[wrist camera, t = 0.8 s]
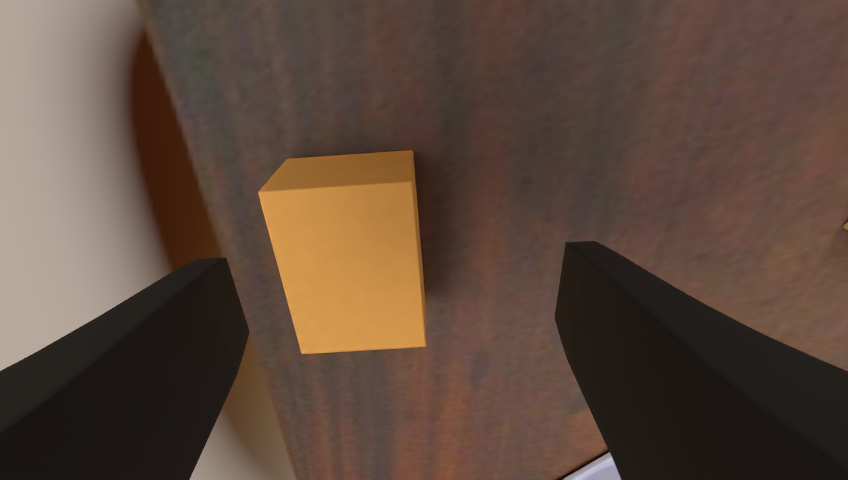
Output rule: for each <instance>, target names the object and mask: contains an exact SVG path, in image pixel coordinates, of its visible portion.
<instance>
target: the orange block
mask: <svg viewBox="0 0 848 480" xmlns="http://www.w3.org/2000/svg"><path fill="white" fill-rule="evenodd" d="M258 194H259V198H260V202H261V205H262V209H263V213H264V216H265V220H266V224H267V228H268V231H269V235H270V239H271V242H272V246H273V250H274V253H275V257H276V261H277V264H278V268H279V272H280V275H281V279H282V283H283V286H284V290H285V294H286V298H287V301H288V305H289V309H290V312H291V316H292V320H293V323H294V327H295V331H296V334H297V338H298V342H299V345H300V349H301V353H302V354H311V353H328V352H344V351H361V350H377V349H394V348H411V347H425V346H426V325H425V292H424V279H423V267H422V255H421V242H420V230H419V218H418V206H417V193H416V181H415V169H414V157H413V150H405V151H390V152H376V153H362V154H347V155H333V156H319V157H305V158H290V159H286V160H285V161H284V163H283V164H282V165H281V166H280V167H279V168H278V170H277V171H276V172H275V173H274V174H273V175H272V177H271V178H270V179H269V180H268V181H267V182H266V184H265V185H264V186H263V187H262V188H261V189H260V191H259V192H258Z"/></svg>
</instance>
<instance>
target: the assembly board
mask: <svg viewBox="0 0 848 480" xmlns="http://www.w3.org/2000/svg"><path fill="white" fill-rule="evenodd" d="M843 228H844V229H846V230H848V221H847V222H846V223H845V224H844V225H843Z"/></svg>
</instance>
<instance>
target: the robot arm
mask: <svg viewBox="0 0 848 480" xmlns="http://www.w3.org/2000/svg"><path fill="white" fill-rule="evenodd" d="M555 321H556V324H557V328H558V331H559V334H560V338H561V341H562V344H563V348H564V351H565V354H566V357H567V360H568V362H569V364H570V367H571V369H572V371H573V373H574V375H575V378H576V380H577V382H578V384H579V387H580V389H581V391H582V393H583V395H584V398H585V400H586V402H587V404H588V406H589V408H590V411H591V413H592V415H593V417H594V419H595V421H596V424H597V426H598V428H599V430H600V432H601V434H602V437H603V439H604V441H605V443H606V445H607V447H608V450H609V453H607V454H605V455H603V456H602V457H600V458H598V459H597V460H595V461H593V462H591V463H590V464H588V465H586V466H585V467H583V468H581V469H579V470H578V471H576V472H574V473H572V474H571V475H569V476H567V477H566V478H564V479H562V480H848V371H845V370H843V369H841V368H838V367H836V366H833V365H831V364H829V363H826V362H824V361H821V360H819V359H817V358H815V357H812V356H810V355H808V354H806V353H803V352H801V351H799V350H797V349H795V348H792V347H790V346H788V345H786V344H784V343H781V342H779V341H777V340H775V339H773V338H770V337H768V336H766V335H764V334H762V333H760V332H758V331H756V330H754V329H752V328H750V327H748V326H746V325H744V324H742V323H740V322H738V321H736V320H734V319H732V318H730V317H728V316H726V315H724V314H723V313H721V312H719V311H717V310H715V309H713V308H711V307H709V306H707V305H705V304H704V303H702V302H700V301H698V300H696V299H695V298H693V297H691V296H689V295H687V294H686V293H684V292H682V291H680V290H679V289H677V288H675V287H674V286H672V285H670V284H668V283H667V282H665V281H663V280H662V279H660V278H658V277H657V276H655V275H653V274H652V273H650V272H648V271H646V270H645V269H643V268H641V267H640V266H638V265H636V264H635V263H633V262H631V261H630V260H628V259H626V258H625V257H623V256H621V255H620V254H618V253H616V252H614V251H613V250H611V249H609V248H607V247H605V246H604V245H602V244H600V243H598V242H595V241H587V242H566V245H565V252H564V258H563V265H562V272H561V278H560V285H559V292H558V298H557V305H556V312H555ZM248 335H249V329H248V325H247V322H246V319H245V316H244V313H243V310H242V306H241V303H240V300H239V297H238V294H237V291H236V287H235V284H234V281H233V278H232V275H231V272H230V268H229V265H228V262H227V259H226V258H212V259H197V260H195V261H193V262H190V263H189V264H186V265H184V266H182V267H181V268H179V269H177V270H175V271H174V272H172V273H170V274H168V275H167V276H165V277H163V278H162V279H160V280H158V281H157V282H155V283H153V284H152V285H150V286H148V287H147V288H145V289H143V290H142V291H140V292H139V293H137V294H135V295H134V296H132V297H130V298H129V299H127V300H125V301H124V302H122V303H120V304H119V305H117V306H116V307H114V308H112V309H110V310H109V311H107V312H105V313H104V314H102V315H101V316H99V317H97V318H96V319H94V320H92V321H90V322H88V323H87V324H85V325H83V326H81V327H80V328H78V329H76V330H74V331H73V332H71V333H69V334H67V335H66V336H64V337H62V338H60V339H59V340H57V341H55V342H53V343H52V344H50V345H48V346H46V347H45V348H43V349H41V350H39V351H38V352H36V353H34V354H32V355H30V356H28V357H26V358H24V359H23V360H21V361H19V362H17V363H15V364H13V365H11V366H9V367H7V368H5V369H3V370H2V371H0V480H189V479H190V477H191V474H192V472H193V470H194V468H195V466H196V464H197V461H198V459H199V457H200V455H201V453H202V451H203V448H204V446H205V444H206V442H207V439H208V438H209V435H210V433H211V431H212V429H213V427H214V425H215V422H216V420H217V418H218V416H219V414H220V411H221V409H222V407H223V405H224V402H225V400H226V398H227V396H228V394H229V391H230V389H231V387H232V385H233V382H234V380H235V378H236V375H237V373H238V369H239V366H240V363H241V360H242V357H243V354H244V349H245V346H246V343H247V339H248Z"/></svg>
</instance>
